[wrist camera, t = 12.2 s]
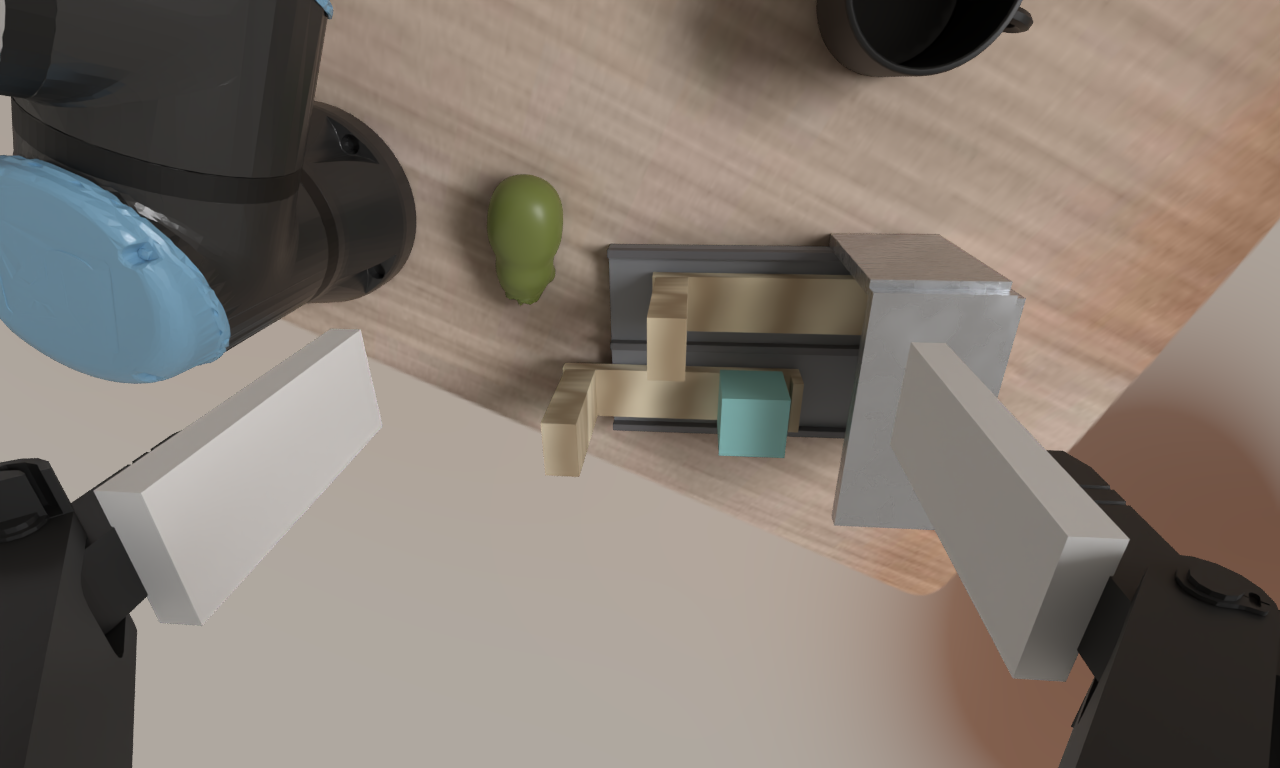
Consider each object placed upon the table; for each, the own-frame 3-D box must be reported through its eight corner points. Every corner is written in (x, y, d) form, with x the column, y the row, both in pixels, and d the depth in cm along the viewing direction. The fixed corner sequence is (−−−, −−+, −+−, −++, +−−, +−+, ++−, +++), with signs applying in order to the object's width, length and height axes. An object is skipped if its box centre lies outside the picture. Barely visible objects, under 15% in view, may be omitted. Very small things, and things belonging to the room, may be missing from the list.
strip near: (653, 324, 50) (643, 380, 40) (653, 272, 48) (643, 317, 38) (900, 330, 48) (947, 389, 39) (910, 275, 46) (963, 324, 37)
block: (717, 422, 52) (718, 455, 47) (719, 369, 49) (722, 398, 45) (776, 425, 51) (784, 457, 47) (782, 371, 49) (790, 400, 45)
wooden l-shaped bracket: (568, 408, 54) (542, 475, 45) (565, 362, 52) (537, 423, 43) (793, 415, 52) (813, 486, 43) (798, 368, 50) (821, 433, 41)
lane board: (615, 418, 56) (613, 430, 54) (610, 243, 48) (607, 250, 47) (886, 428, 54) (893, 440, 52) (922, 247, 46) (931, 254, 45)
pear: (558, 196, 42) (550, 321, 48) (572, 172, 46) (563, 289, 52) (477, 182, 42) (479, 308, 48) (499, 159, 46) (499, 278, 52)
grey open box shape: (805, 430, 54) (834, 525, 43) (830, 233, 47) (874, 284, 35) (908, 433, 54) (967, 531, 42) (952, 234, 46) (1039, 287, 34)
